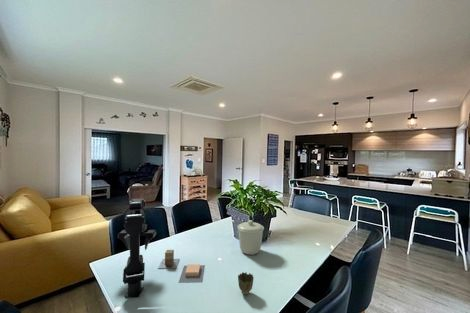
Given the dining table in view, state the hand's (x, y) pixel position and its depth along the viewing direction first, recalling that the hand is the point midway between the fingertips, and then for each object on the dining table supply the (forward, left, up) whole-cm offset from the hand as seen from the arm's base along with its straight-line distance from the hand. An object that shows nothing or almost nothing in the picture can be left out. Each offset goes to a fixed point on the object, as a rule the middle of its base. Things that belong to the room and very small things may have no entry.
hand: (137, 249), depth 114 cm
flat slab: (-7, -31, -10) cm, 33 cm away
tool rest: (+6, -16, -12) cm, 21 cm away
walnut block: (+6, -16, -11) cm, 20 cm away
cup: (-20, -58, -12) cm, 63 cm away
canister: (+22, -66, -12) cm, 71 cm away
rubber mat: (-4, -31, -12) cm, 33 cm away
